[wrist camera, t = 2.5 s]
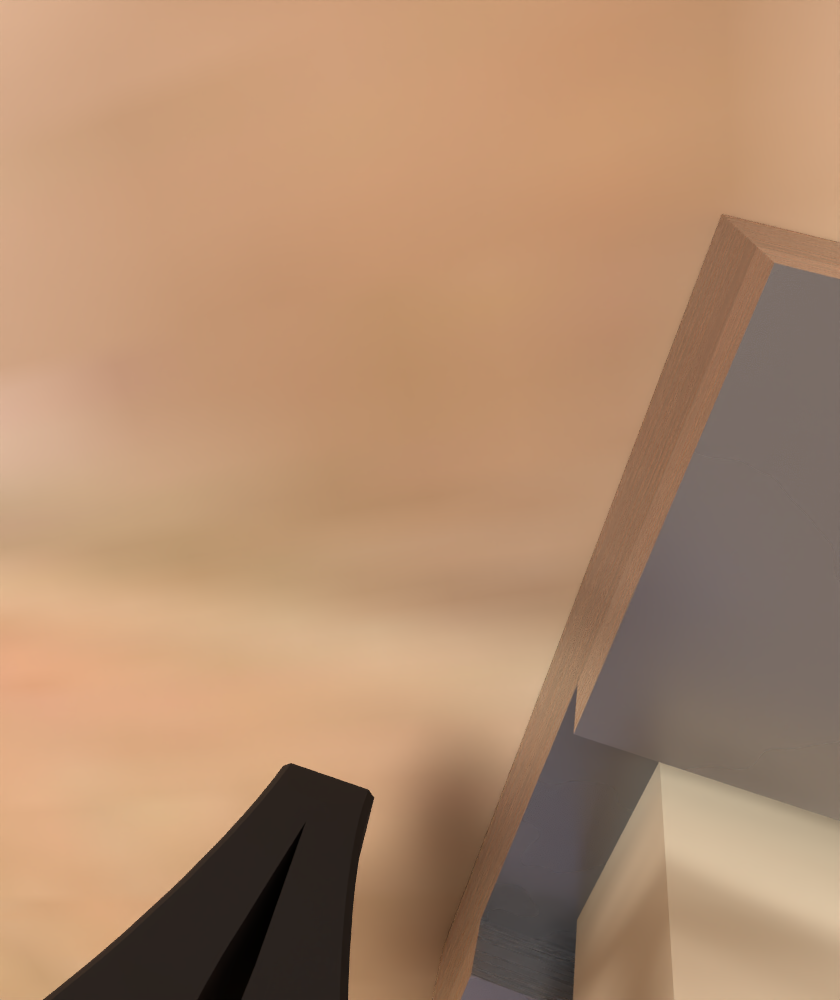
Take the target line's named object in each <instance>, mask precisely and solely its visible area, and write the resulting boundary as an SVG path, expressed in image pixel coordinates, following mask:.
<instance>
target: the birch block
mask: <svg viewBox="0 0 840 1000" xmlns="http://www.w3.org/2000/svg"><path fill="white" fill-rule="evenodd" d="M573 1000H840V821H838V820H835V819H832V818H829V817H826V816H823V815H820V814H817V813H813V812H810V811H807V810H804V809H801V808H798V807H795V806H792V805H789V804H786V803H783V802H780V801H777V800H774V799H771V798H768V797H765V796H761V795H758V794H755V793H752V792H749V791H746V790H743V789H740V788H737V787H734V786H731V785H728V784H725V783H722V782H719V781H716V780H713V779H709V778H706V777H703V776H700V775H697V774H694V773H691V772H688V771H685V770H682V769H679V768H676V767H673V766H670V765H667V764H664V763H660V762H659V763H658V765H657V767H656V769H655V771H654V773H653V775H652V777H651V779H650V780H649V782H648V784H647V786H646V788H645V790H644V792H643V794H642V796H641V798H640V800H639V802H638V804H637V805H636V807H635V809H634V811H633V813H632V815H631V817H630V819H629V821H628V823H627V825H626V827H625V829H624V831H623V832H622V834H621V836H620V838H619V840H618V842H617V844H616V846H615V848H614V850H613V852H612V854H611V856H610V857H609V859H608V861H607V863H606V865H605V867H604V869H603V871H602V873H601V875H600V877H599V879H598V881H597V882H596V884H595V886H594V888H593V890H592V892H591V894H590V896H589V898H588V900H587V902H586V904H585V906H584V907H583V909H582V911H581V913H580V915H579V917H578V919H577V932H576V950H575V969H574V987H573Z"/></svg>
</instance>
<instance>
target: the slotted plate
mask: <svg viewBox="0 0 840 1000" xmlns="http://www.w3.org/2000/svg"><path fill="white" fill-rule="evenodd" d="M659 762H660V763H664V764H667V765H670V766H673V767H676V768H679V769H682V770H685V771H688V772H691V773H694V774H697V775H700V776H703V777H706V778H709V779H713V780H716V781H719V782H722V783H725V784H728V785H731V786H734V787H737V788H740V789H743V790H746V791H749V792H752V793H755V794H758V795H761V796H765V797H768V798H771V799H774V800H777V801H780V802H783V803H786V804H789V805H792V806H795V807H798V808H801V809H804V810H807V811H810V812H813V813H817V814H820V815H823V816H826V817H829V818H832V819H835V820H838V821H840V243H839V242H835V241H831V240H827V239H822V238H818V237H814V236H810V235H806V234H802V233H798V232H794V231H789V230H785V229H781V228H777V227H773V226H769V225H765V224H761V223H756V222H752V221H748V220H744V219H740V218H736V217H732V216H727V215H723V214H722V216H721V218H720V221H719V224H718V226H717V229H716V231H715V234H714V237H713V239H712V242H711V245H710V247H709V250H708V253H707V255H706V258H705V260H704V263H703V266H702V268H701V271H700V274H699V276H698V279H697V281H696V284H695V287H694V289H693V292H692V295H691V297H690V300H689V302H688V305H687V308H686V310H685V313H684V316H683V318H682V321H681V324H680V326H679V329H678V331H677V334H676V337H675V339H674V342H673V345H672V347H671V350H670V352H669V355H668V358H667V360H666V363H665V366H664V368H663V371H662V374H661V376H660V379H659V381H658V384H657V387H656V389H655V392H654V395H653V397H652V400H651V402H650V405H649V408H648V410H647V413H646V416H645V418H644V421H643V424H642V426H641V429H640V431H639V434H638V437H637V439H636V442H635V445H634V447H633V450H632V452H631V455H630V458H629V460H628V463H627V466H626V468H625V471H624V474H623V476H622V479H621V481H620V484H619V487H618V489H617V492H616V495H615V497H614V500H613V502H612V505H611V508H610V510H609V513H608V516H607V518H606V521H605V524H604V526H603V529H602V531H601V534H600V537H599V539H598V542H597V545H596V547H595V550H594V552H593V555H592V558H591V560H590V563H589V566H588V568H587V571H586V573H585V576H584V579H583V581H582V584H581V587H580V589H579V592H578V595H577V597H576V600H575V602H574V605H573V608H572V610H571V613H570V616H569V618H568V621H567V623H566V626H565V629H564V631H563V634H562V637H561V639H560V642H559V645H558V647H557V650H556V652H555V655H554V658H553V660H552V663H551V666H550V668H549V671H548V673H547V676H546V679H545V681H544V684H543V687H542V689H541V692H540V695H539V697H538V700H537V702H536V705H535V708H534V710H533V713H532V716H531V718H530V721H529V723H528V726H527V729H526V731H525V734H524V737H523V739H522V742H521V745H520V747H519V750H518V752H517V755H516V758H515V760H514V763H513V766H512V768H511V771H510V773H509V776H508V779H507V781H506V784H505V787H504V789H503V792H502V794H501V797H500V800H499V802H498V805H497V808H496V810H495V813H494V816H493V818H492V821H491V823H490V826H489V829H488V831H487V834H486V837H485V839H484V842H483V844H482V847H481V850H480V852H479V855H478V858H477V860H476V863H475V866H474V868H473V871H472V873H471V876H470V879H469V881H468V884H467V887H466V889H465V892H464V894H463V897H462V900H461V902H460V905H459V908H458V910H457V913H456V916H455V918H454V921H453V923H452V926H451V929H450V931H449V934H448V937H447V939H446V942H445V944H444V947H443V951H442V955H441V960H440V965H439V969H438V974H437V979H436V983H435V988H434V993H433V998H432V1000H573V987H574V969H575V950H576V932H577V919H578V917H579V915H580V913H581V911H582V909H583V907H584V906H585V904H586V902H587V900H588V898H589V896H590V894H591V892H592V890H593V888H594V886H595V884H596V882H597V881H598V879H599V877H600V875H601V873H602V871H603V869H604V867H605V865H606V863H607V861H608V859H609V857H610V856H611V854H612V852H613V850H614V848H615V846H616V844H617V842H618V840H619V838H620V836H621V834H622V832H623V831H624V829H625V827H626V825H627V823H628V821H629V819H630V817H631V815H632V813H633V811H634V809H635V807H636V805H637V804H638V802H639V800H640V798H641V796H642V794H643V792H644V790H645V788H646V786H647V784H648V782H649V780H650V779H651V777H652V775H653V773H654V771H655V769H656V767H657V765H658V763H659Z"/></svg>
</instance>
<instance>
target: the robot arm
mask: <svg viewBox="0 0 840 1000" xmlns="http://www.w3.org/2000/svg"><path fill="white" fill-rule="evenodd" d="M373 800H374V797H373V795H372V794H371V793H370V791H369V790H368V789H365V788H362V787H359V786H356V785H353V784H350V783H347V782H344V781H342V780H339V779H336V778H333V777H330V776H327V775H324V774H321V773H318V772H315V771H312V770H310V769H307V768H304V767H301V766H298V765H295V764H292V763H290V764H287V765H285V766H283V767H282V768H281V770H280V771H279V772H278V774H277V775H276V776H275V778H274V779H273V780H272V781H271V783H270V784H269V785H268V786H267V788H266V789H265V790H264V791H263V793H262V794H261V795H260V796H259V797H258V799H257V800H256V801H255V802H254V803H253V804H252V806H251V807H250V808H249V809H248V810H247V811H246V812H245V814H244V815H243V816H242V817H241V818H240V819H239V820H238V821H237V822H236V823H235V825H234V826H233V827H232V828H231V829H230V830H229V831H228V832H227V833H226V834H225V835H224V837H223V838H222V839H221V840H220V841H219V842H218V843H217V844H216V845H215V846H214V847H213V848H212V849H211V850H210V851H209V852H208V853H207V854H206V855H205V856H204V857H203V858H202V859H201V860H200V861H199V862H198V863H197V864H196V865H195V866H194V867H193V868H192V869H191V870H190V871H189V872H188V873H187V874H186V875H185V876H184V877H183V878H182V879H181V880H180V881H179V882H178V883H177V884H176V885H175V886H174V887H173V888H172V889H171V890H170V891H169V892H168V893H167V894H165V895H164V896H163V897H162V898H161V899H160V900H159V901H158V902H157V903H156V904H155V905H153V906H152V907H151V908H150V909H149V910H148V911H147V912H146V913H145V914H144V915H143V916H142V917H140V918H139V919H138V920H137V921H136V922H135V923H134V924H133V925H132V926H131V927H130V928H128V929H127V930H126V931H125V932H124V933H123V934H122V935H121V936H119V937H118V938H117V939H116V940H115V941H114V942H113V943H111V944H110V945H109V946H108V947H107V948H106V949H104V950H103V951H102V952H101V953H100V954H99V955H97V956H96V957H95V958H94V959H93V960H91V961H90V962H89V963H88V964H87V965H85V966H84V967H83V968H82V969H81V970H79V971H78V972H77V973H76V974H74V975H73V976H72V977H71V978H69V979H68V980H67V981H66V982H65V983H63V984H62V985H61V986H60V987H58V988H57V989H56V990H55V991H53V992H52V993H51V994H50V995H48V996H47V997H46V998H45V999H43V1000H348V980H349V955H350V941H351V927H352V913H353V901H354V891H355V883H356V876H357V868H358V861H359V856H360V852H361V848H362V844H363V840H364V836H365V832H366V828H367V824H368V820H369V816H370V812H371V808H372V804H373Z"/></svg>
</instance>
